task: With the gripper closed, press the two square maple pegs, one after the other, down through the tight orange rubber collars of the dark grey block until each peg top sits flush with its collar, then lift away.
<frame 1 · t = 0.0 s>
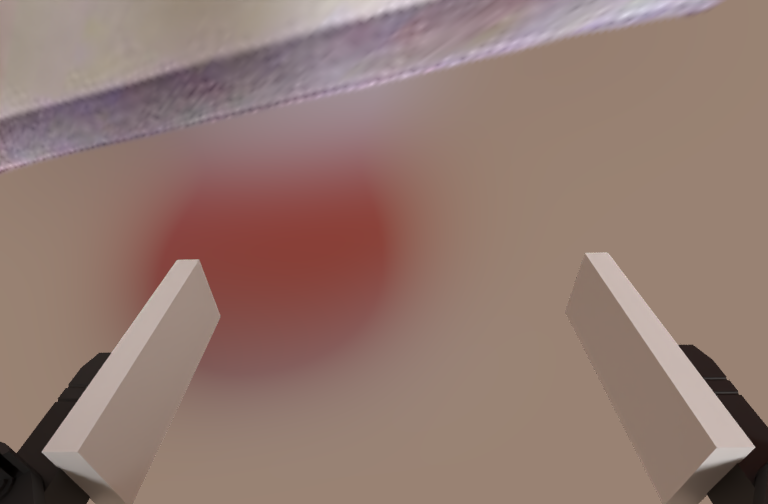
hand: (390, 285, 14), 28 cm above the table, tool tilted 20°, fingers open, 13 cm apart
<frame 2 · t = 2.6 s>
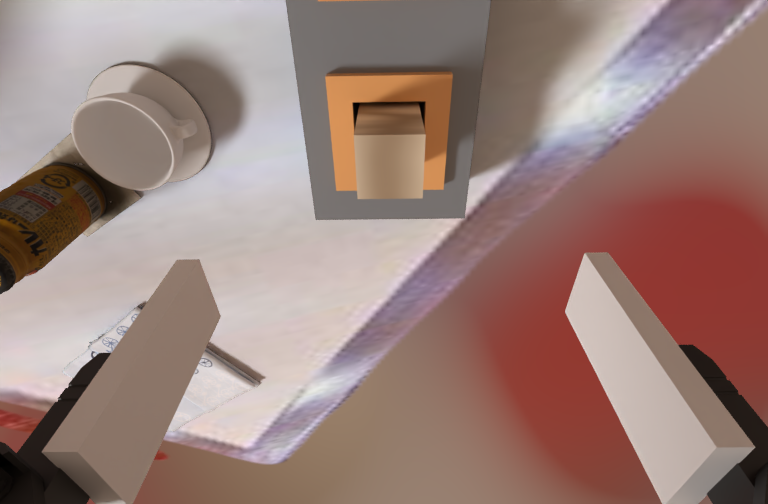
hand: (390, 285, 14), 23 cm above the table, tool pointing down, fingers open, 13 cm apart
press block: (388, 25, 29), on the table
teacup: (154, 125, 34), on the table
condiment: (82, 187, 37), on the table
peg 1: (389, 147, 26), point 8 cm above the table, slide at 5.0 cm
bicycle print napkin: (161, 370, 55), on the table
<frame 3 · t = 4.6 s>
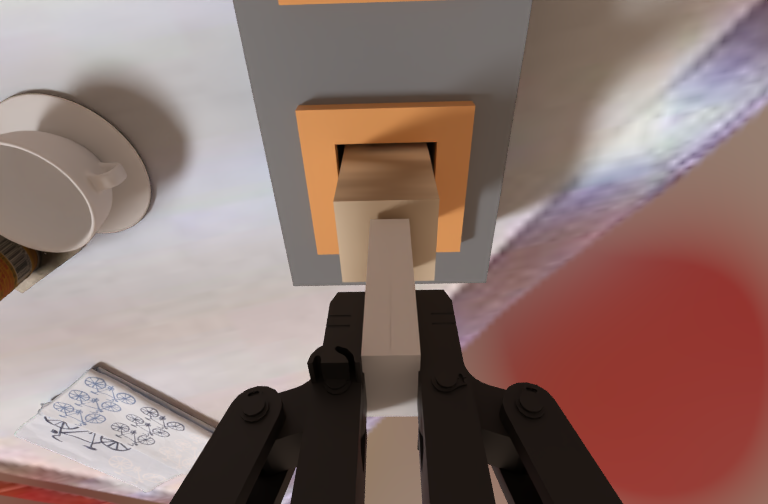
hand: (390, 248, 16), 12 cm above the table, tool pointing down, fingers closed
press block: (384, 34, 22), on the table
teacup: (78, 166, 27), on the table
condiment: (9, 237, 30), on the table
peg 1: (387, 203, 19), point 8 cm above the table, slide at 4.8 cm, touching gripper
bicycle print napkin: (129, 429, 47), on the table
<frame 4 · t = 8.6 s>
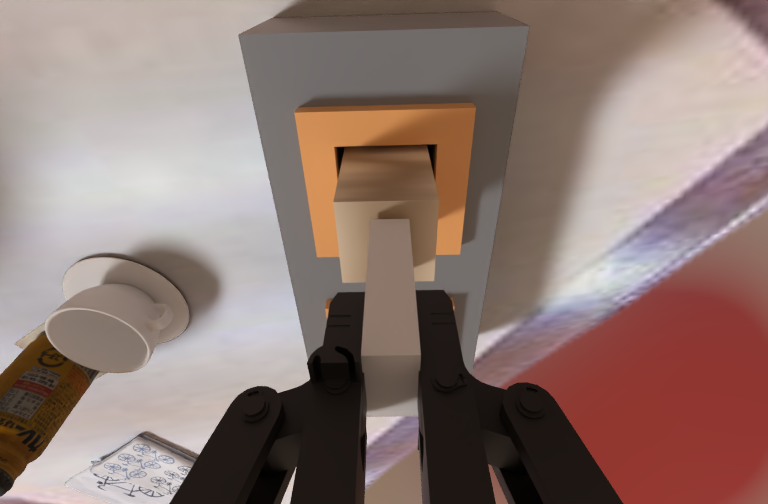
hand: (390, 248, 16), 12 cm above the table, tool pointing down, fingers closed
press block: (388, 222, 29), on the table
teacup: (132, 298, 34), on the table
condiment: (80, 345, 37), on the table
bicycle print napkin: (164, 479, 54), on the table
peg 2: (386, 204, 19), point 8 cm above the table, slide at 4.6 cm, touching gripper
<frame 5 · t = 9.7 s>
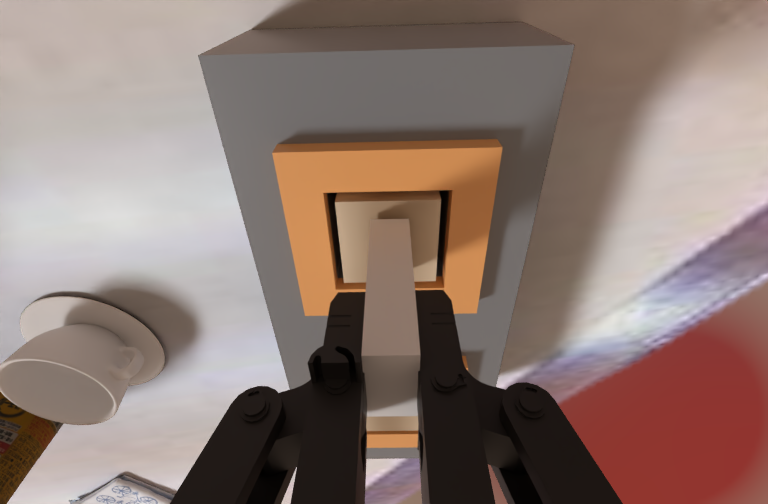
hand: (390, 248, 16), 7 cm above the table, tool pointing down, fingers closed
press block: (390, 260, 25), on the table
teacup: (100, 338, 30), on the table
condiment: (47, 387, 34), on the table
peg 1: (392, 365, 26), point 3 cm above the table, slide at 0.0 cm
peg 2: (388, 204, 19), point 4 cm above the table, slide at 0.0 cm, touching gripper
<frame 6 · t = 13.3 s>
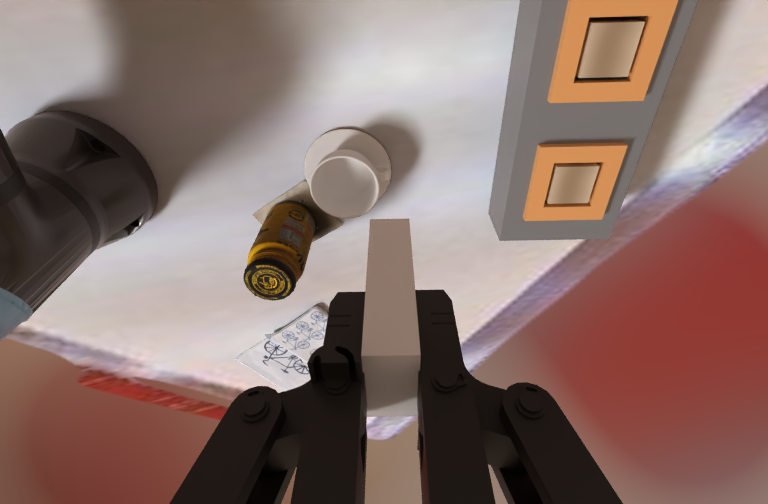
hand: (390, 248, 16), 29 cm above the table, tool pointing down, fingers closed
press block: (563, 103, 41), on the table
teacup: (348, 169, 46), on the table
condiment: (298, 217, 50), on the table
peg 1: (561, 171, 42), point 3 cm above the table, slide at 0.0 cm
bicycle print napkin: (313, 358, 67), on the table
peg 2: (593, 44, 35), point 3 cm above the table, slide at 0.0 cm
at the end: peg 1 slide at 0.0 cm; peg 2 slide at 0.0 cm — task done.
